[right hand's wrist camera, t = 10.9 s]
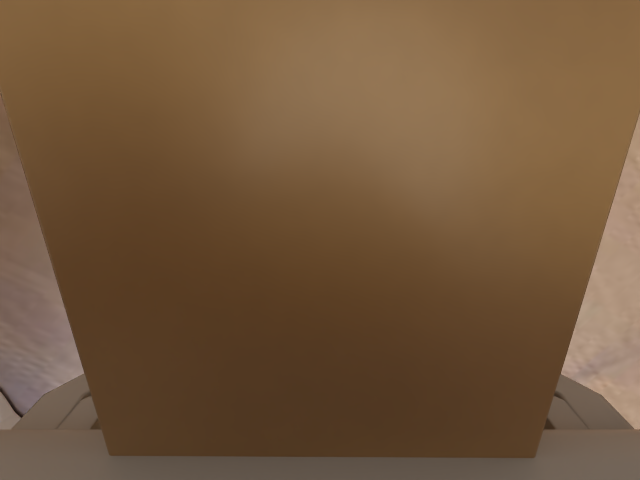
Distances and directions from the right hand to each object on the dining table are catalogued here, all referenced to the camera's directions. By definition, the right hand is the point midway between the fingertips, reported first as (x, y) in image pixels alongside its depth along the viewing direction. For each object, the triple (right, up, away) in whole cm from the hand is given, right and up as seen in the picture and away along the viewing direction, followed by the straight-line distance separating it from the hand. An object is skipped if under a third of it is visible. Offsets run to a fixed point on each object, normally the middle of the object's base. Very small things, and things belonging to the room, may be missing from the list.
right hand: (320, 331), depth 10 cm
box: (0, +12, +3) cm, 12 cm away
